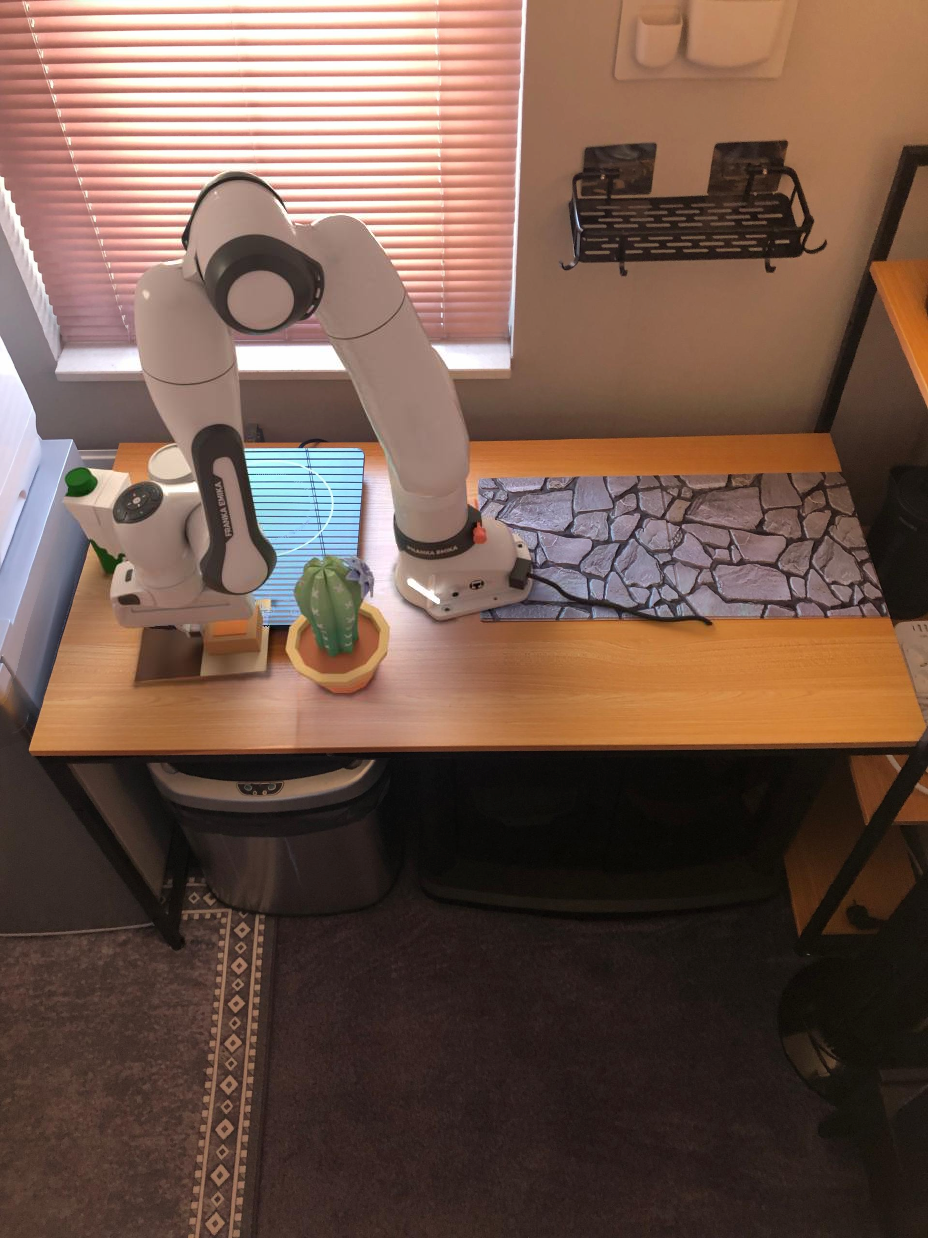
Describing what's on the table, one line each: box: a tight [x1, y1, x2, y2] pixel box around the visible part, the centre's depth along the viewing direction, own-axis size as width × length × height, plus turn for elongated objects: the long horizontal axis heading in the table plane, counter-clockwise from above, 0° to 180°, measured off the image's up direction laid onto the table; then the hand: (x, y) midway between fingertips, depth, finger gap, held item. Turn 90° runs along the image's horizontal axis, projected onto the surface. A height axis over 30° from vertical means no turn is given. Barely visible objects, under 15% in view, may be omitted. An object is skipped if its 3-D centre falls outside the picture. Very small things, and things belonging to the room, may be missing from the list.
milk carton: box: [61, 466, 132, 575], centre depth 151 cm, size 9×9×20 cm
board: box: [134, 597, 272, 682], centre depth 148 cm, size 20×14×1 cm
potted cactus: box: [285, 554, 391, 694], centre depth 134 cm, size 15×15×25 cm
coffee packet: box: [203, 605, 263, 655], centre depth 146 cm, size 8×6×4 cm
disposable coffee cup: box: [147, 442, 195, 485], centre depth 161 cm, size 10×10×12 cm
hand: (198, 633), depth 147 cm, fingers closed
